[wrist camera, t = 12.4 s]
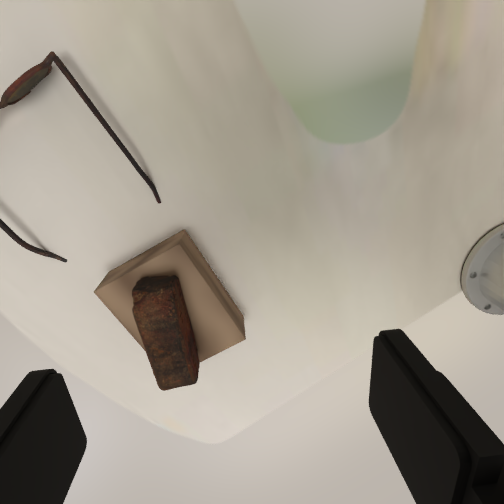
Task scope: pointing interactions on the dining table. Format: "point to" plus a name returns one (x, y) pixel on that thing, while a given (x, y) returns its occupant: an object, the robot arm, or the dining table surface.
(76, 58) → the dining table surface
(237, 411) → the dining table surface
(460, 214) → the dining table surface
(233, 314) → the beige box
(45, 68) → the eyeglasses
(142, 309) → the brick
